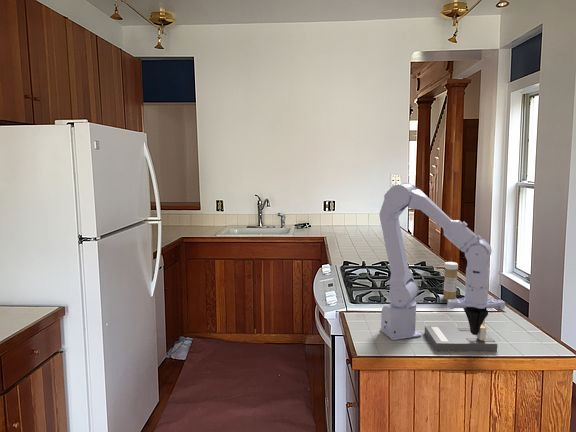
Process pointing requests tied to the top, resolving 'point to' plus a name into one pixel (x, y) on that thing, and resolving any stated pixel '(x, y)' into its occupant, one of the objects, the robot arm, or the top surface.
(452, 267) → the sprinkles bottle
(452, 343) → the box
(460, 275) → the top surface
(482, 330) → the breaker handle
